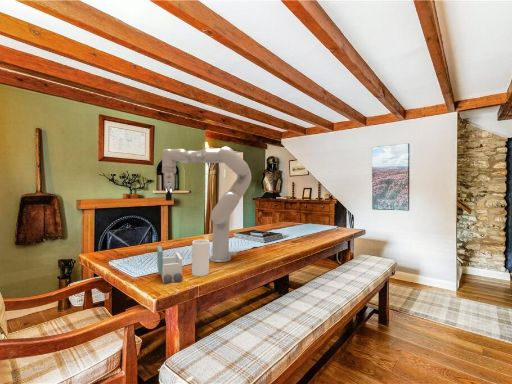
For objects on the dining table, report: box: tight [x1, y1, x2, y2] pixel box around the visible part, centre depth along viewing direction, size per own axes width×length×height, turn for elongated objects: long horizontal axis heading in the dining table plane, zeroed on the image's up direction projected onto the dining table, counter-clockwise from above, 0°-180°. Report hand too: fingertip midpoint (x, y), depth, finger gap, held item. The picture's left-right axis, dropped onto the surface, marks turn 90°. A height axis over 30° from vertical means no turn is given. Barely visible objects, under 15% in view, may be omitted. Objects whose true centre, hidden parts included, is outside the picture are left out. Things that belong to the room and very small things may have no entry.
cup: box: [191, 239, 210, 277], centre depth 126 cm, size 8×8×16 cm
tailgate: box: [156, 245, 164, 275], centre depth 118 cm, size 2×11×10 cm, turn 25°
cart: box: [160, 251, 183, 284], centre depth 120 cm, size 8×14×10 cm, turn 25°
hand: (168, 199), depth 148 cm, fingers open, 9 cm apart
